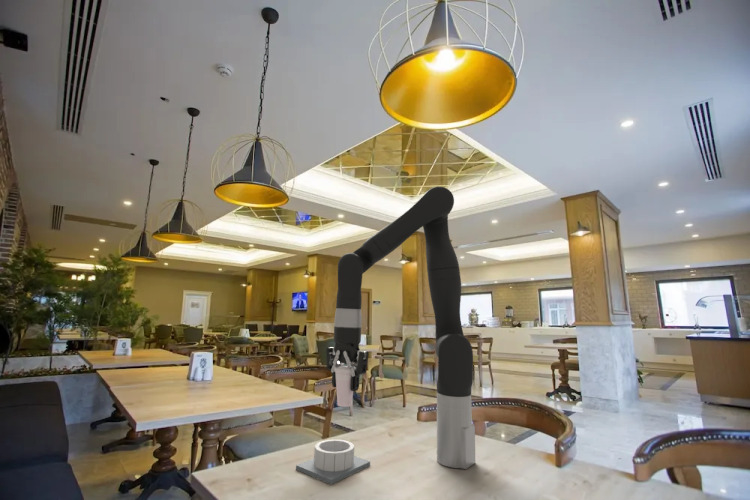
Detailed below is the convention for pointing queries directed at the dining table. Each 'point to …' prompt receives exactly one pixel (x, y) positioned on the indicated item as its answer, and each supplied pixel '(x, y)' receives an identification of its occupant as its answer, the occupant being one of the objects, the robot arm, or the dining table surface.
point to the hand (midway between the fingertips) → (344, 388)
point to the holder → (333, 461)
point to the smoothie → (343, 386)
